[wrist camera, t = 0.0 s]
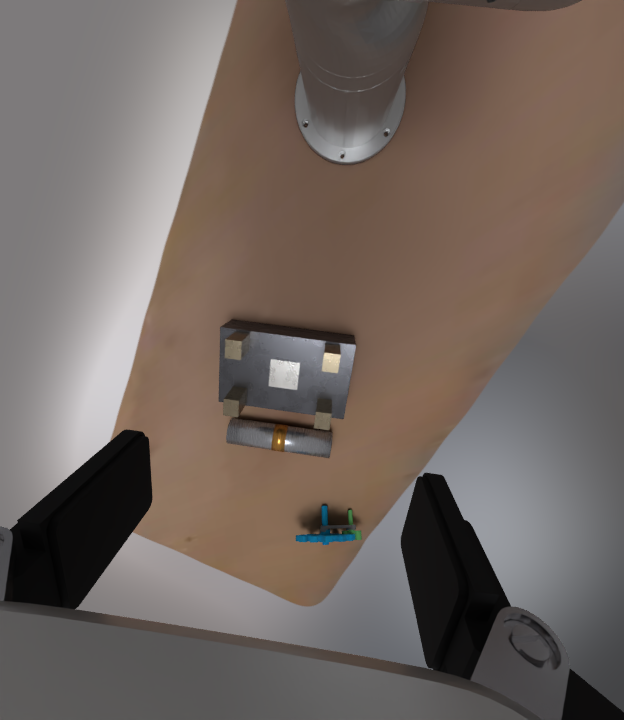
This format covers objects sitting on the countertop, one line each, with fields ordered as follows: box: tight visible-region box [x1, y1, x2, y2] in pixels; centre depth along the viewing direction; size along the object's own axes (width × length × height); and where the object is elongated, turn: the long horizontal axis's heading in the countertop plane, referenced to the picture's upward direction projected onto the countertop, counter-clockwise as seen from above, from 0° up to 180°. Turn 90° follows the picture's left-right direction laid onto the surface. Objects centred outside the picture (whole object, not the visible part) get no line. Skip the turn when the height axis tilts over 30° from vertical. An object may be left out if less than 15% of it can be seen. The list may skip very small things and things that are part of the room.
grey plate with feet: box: [219, 319, 356, 430], centre depth 45 cm, size 11×18×9 cm, turn 83°
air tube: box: [226, 418, 332, 458], centre depth 51 cm, size 16×4×4 cm, turn 83°
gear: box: [296, 506, 362, 545], centre depth 56 cm, size 11×6×10 cm
